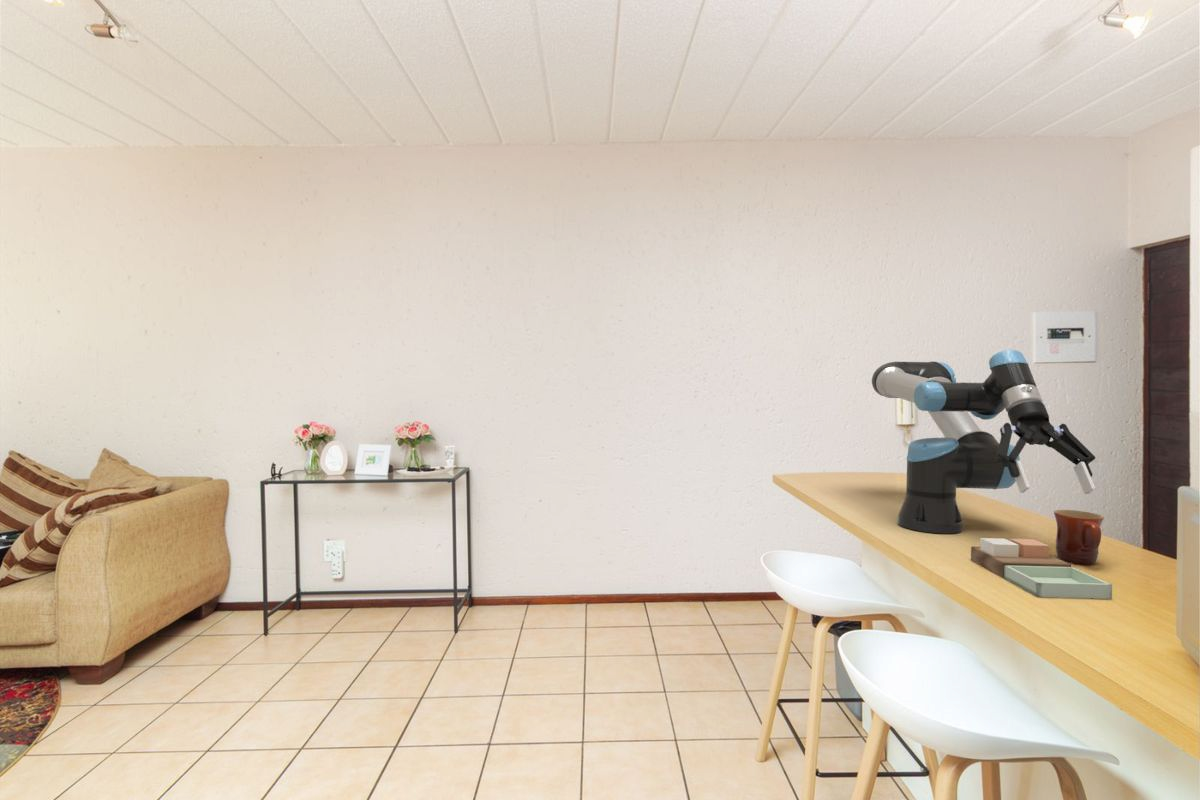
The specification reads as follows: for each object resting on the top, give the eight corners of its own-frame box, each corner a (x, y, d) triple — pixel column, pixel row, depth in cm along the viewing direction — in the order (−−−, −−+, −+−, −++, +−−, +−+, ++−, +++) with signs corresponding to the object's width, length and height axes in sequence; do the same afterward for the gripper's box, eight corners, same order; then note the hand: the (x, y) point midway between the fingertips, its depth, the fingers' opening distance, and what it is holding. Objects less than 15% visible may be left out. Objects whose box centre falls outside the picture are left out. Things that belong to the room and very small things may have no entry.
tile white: (979, 549, 136) (980, 538, 136) (1004, 550, 136) (1004, 538, 135) (993, 556, 131) (993, 544, 131) (1018, 557, 131) (1018, 545, 130)
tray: (1003, 578, 126) (1004, 565, 126) (1071, 580, 126) (1072, 567, 126) (1037, 596, 116) (1038, 582, 116) (1111, 599, 115) (1112, 584, 115)
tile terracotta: (1008, 550, 136) (1009, 538, 135) (1033, 550, 135) (1033, 539, 135) (1023, 557, 131) (1023, 545, 130) (1048, 557, 130) (1049, 545, 130)
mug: (1044, 553, 144) (1046, 508, 144) (1087, 556, 142) (1090, 511, 142) (1071, 569, 132) (1074, 520, 132) (1120, 573, 131) (1122, 523, 130)
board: (970, 560, 138) (971, 546, 138) (1032, 561, 138) (1033, 547, 138) (1002, 577, 127) (1003, 562, 126) (1070, 579, 126) (1071, 564, 126)
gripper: (978, 398, 147) (1006, 481, 136) (1089, 400, 146) (1128, 484, 134) (963, 416, 153) (990, 496, 142) (1070, 417, 152) (1106, 499, 141)
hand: (1057, 491), depth 138 cm, fingers open, 13 cm apart
